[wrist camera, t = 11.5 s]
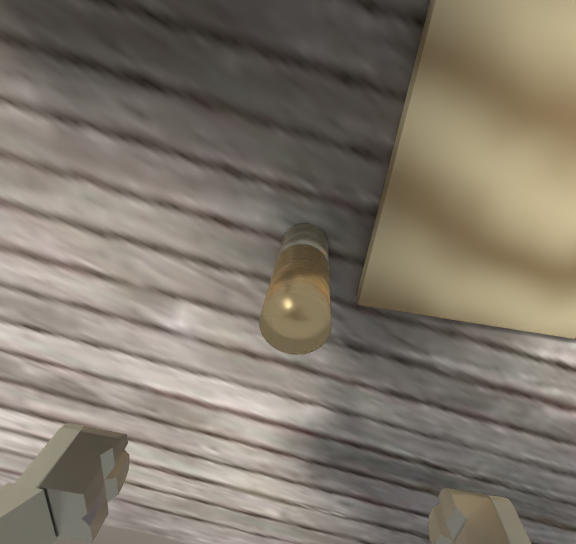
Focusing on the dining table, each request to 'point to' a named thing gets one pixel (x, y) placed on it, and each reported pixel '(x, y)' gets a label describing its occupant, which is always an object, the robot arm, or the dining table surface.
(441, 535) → the robot arm
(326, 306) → the amber glass vial
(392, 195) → the panel
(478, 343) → the dining table surface
